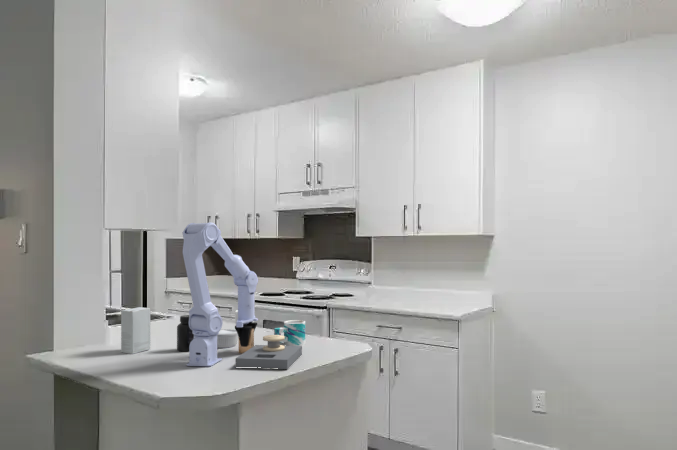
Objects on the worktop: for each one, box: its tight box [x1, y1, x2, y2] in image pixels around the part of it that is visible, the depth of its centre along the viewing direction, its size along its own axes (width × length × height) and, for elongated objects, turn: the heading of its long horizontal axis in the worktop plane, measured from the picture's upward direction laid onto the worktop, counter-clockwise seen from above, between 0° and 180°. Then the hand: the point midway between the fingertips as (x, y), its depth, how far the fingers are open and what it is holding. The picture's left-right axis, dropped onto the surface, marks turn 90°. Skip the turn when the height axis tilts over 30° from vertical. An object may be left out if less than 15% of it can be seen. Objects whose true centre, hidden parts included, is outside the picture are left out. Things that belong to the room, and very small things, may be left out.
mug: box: [273, 319, 307, 347], centre depth 190 cm, size 8×12×8 cm
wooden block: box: [237, 328, 255, 354], centre depth 178 cm, size 3×4×8 cm, turn 82°
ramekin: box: [217, 328, 238, 349], centre depth 190 cm, size 11×11×5 cm
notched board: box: [235, 334, 303, 370], centre depth 164 cm, size 20×16×7 cm
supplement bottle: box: [176, 314, 194, 353], centre depth 182 cm, size 7×7×12 cm
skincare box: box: [120, 306, 151, 355], centre depth 181 cm, size 8×6×15 cm
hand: (246, 345), depth 178 cm, fingers open, 4 cm apart
